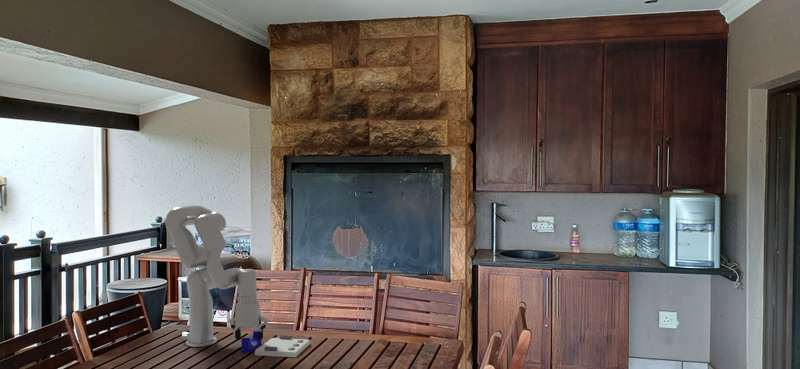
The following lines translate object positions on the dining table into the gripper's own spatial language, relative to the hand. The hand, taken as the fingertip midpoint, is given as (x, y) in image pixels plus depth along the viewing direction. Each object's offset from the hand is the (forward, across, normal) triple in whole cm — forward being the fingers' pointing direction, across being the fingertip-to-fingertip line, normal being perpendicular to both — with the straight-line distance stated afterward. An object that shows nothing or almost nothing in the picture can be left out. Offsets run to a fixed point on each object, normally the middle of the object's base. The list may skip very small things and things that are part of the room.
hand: (249, 340), depth 225 cm
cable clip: (+4, 0, 0) cm, 4 cm away
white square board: (+4, +14, +1) cm, 15 cm away
